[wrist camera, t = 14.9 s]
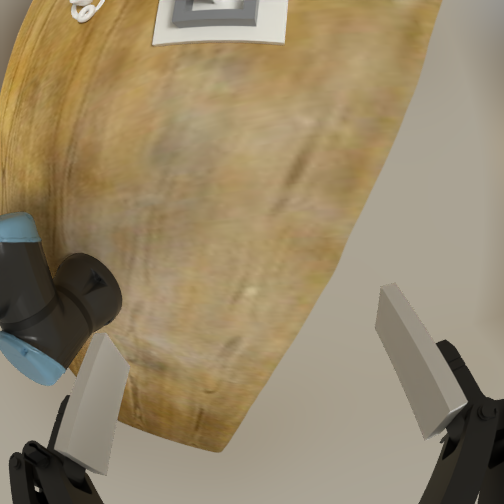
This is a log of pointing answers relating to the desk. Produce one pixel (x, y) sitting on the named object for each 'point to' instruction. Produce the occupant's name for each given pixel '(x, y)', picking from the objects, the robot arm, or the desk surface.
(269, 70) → the desk surface
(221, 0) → the milkshake
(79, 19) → the teacup and saucer
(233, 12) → the plate
